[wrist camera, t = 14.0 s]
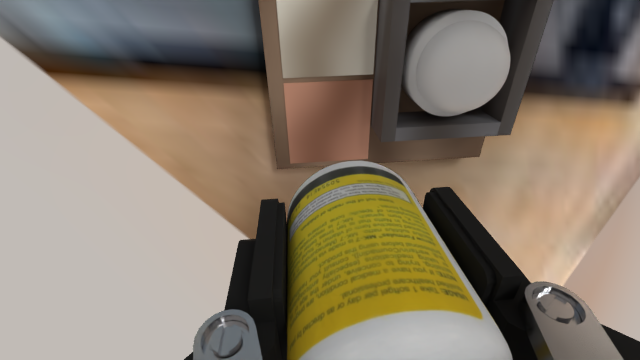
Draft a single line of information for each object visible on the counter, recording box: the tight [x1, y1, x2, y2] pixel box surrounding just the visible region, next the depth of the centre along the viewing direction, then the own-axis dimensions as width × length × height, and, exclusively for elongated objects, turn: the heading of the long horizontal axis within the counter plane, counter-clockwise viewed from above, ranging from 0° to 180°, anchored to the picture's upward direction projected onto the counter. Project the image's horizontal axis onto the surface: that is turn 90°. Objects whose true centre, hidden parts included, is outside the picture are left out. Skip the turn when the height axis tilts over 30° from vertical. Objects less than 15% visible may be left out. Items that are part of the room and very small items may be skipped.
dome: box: [401, 9, 510, 116], centre depth 16 cm, size 5×5×4 cm
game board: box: [258, 0, 554, 169], centre depth 16 cm, size 14×17×4 cm
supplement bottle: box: [286, 161, 513, 360], centre depth 8 cm, size 5×5×8 cm
